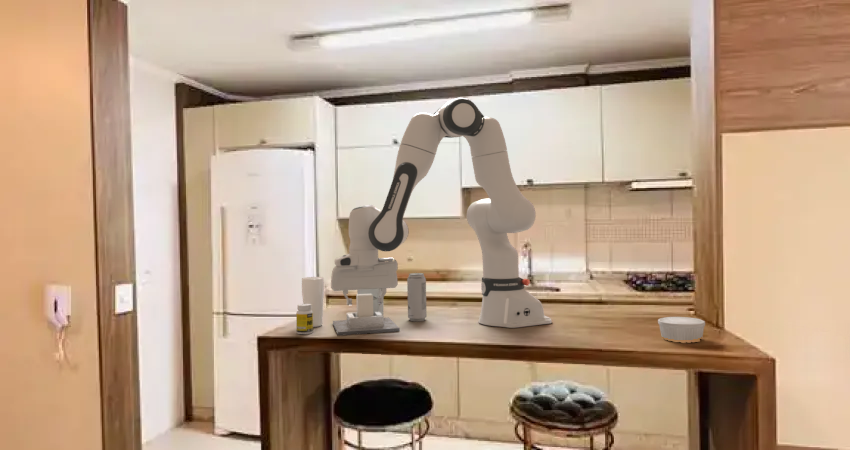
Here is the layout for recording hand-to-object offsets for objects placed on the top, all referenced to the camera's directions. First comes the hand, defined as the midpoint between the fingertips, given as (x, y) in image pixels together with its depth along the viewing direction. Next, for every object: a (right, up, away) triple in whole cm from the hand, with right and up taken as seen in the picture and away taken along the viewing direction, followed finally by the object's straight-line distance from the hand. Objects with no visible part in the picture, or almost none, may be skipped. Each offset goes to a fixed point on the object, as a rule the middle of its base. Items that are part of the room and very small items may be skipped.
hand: (365, 304), depth 172 cm
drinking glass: (-16, -8, +4) cm, 19 cm away
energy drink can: (+16, -7, +11) cm, 20 cm away
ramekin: (+86, -7, -23) cm, 89 cm away
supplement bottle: (-17, -8, -6) cm, 20 cm away
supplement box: (0, -7, +15) cm, 17 cm away
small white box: (0, -6, 0) cm, 6 cm away
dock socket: (0, -7, 0) cm, 7 cm away
